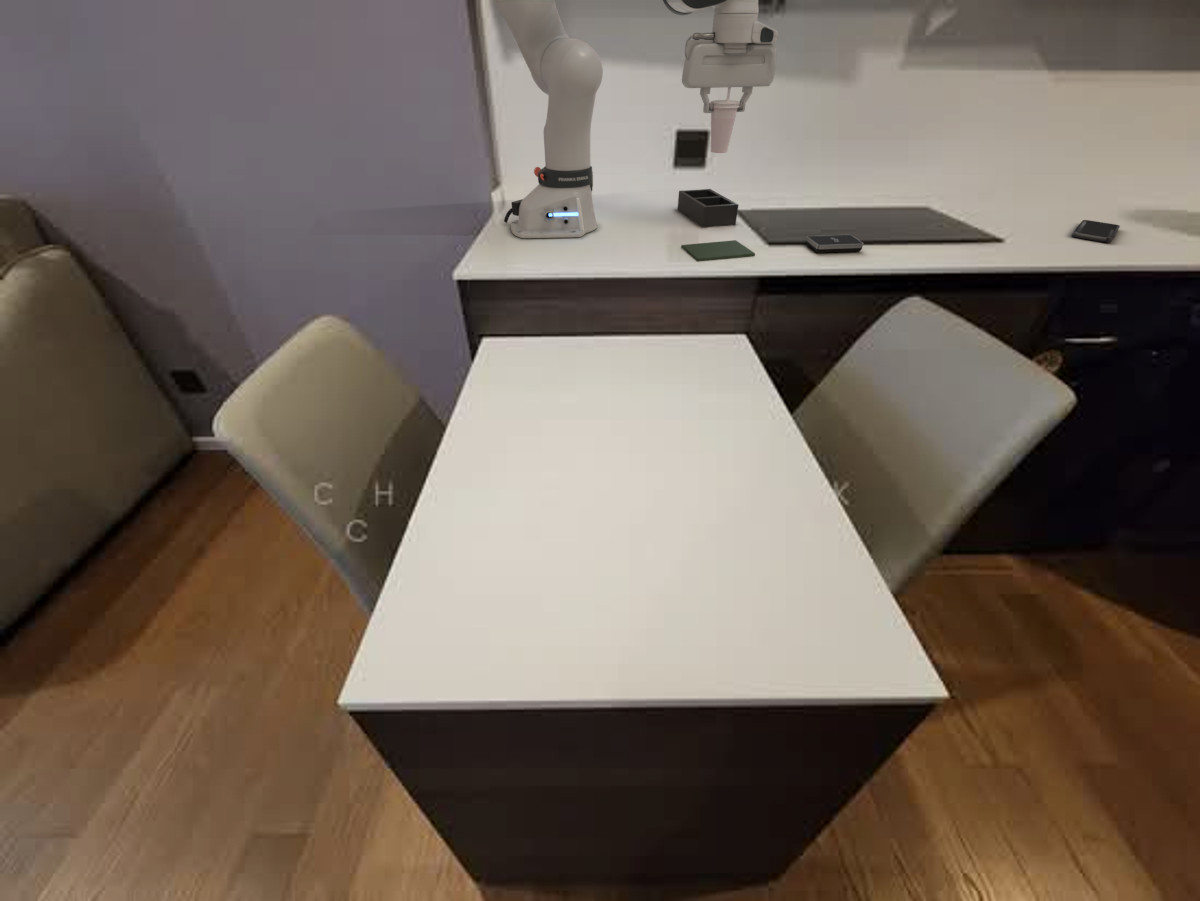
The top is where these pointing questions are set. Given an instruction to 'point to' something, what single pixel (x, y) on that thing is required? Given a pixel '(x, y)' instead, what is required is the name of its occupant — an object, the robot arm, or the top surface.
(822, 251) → the external hard drive
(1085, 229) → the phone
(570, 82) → the robot arm
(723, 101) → the smoothie
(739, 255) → the mat
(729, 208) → the holder
